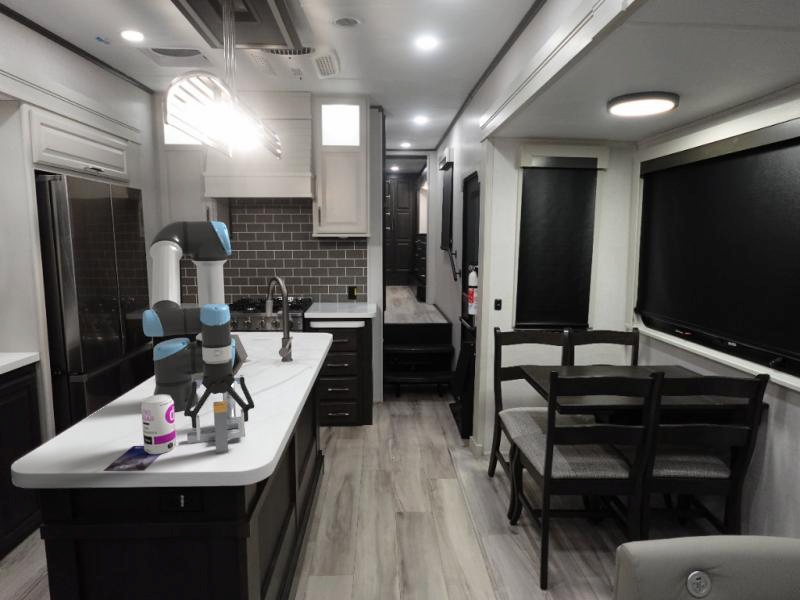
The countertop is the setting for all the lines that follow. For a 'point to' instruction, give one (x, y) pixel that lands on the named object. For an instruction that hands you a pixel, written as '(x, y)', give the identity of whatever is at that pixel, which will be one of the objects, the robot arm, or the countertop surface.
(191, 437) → the grey piece
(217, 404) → the orange-tipped square rod
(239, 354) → the planter
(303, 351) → the countertop surface
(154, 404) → the supplement can
